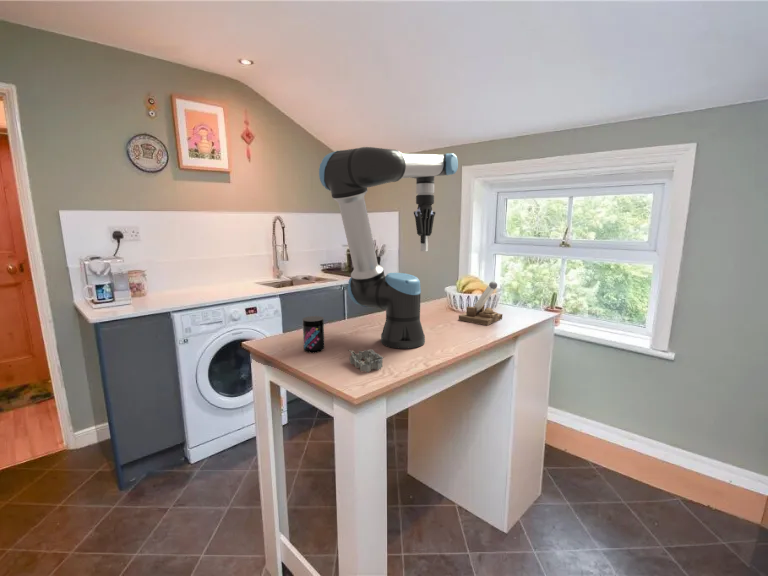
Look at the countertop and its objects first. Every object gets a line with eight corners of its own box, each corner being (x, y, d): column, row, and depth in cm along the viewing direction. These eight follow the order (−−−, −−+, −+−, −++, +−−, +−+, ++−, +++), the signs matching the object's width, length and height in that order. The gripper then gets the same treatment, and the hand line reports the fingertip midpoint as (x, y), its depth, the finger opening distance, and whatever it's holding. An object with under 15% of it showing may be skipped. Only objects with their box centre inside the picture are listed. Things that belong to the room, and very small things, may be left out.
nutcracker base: (487, 325, 150) (488, 312, 149) (458, 320, 158) (459, 307, 157) (502, 318, 160) (503, 306, 159) (474, 313, 169) (474, 301, 168)
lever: (474, 315, 158) (495, 285, 150) (468, 310, 160) (489, 280, 152) (479, 313, 162) (500, 284, 154) (474, 308, 163) (494, 279, 155)
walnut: (490, 317, 154) (491, 309, 153) (482, 316, 156) (482, 307, 156) (494, 316, 157) (494, 307, 156) (486, 314, 159) (486, 306, 158)
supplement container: (300, 349, 123) (298, 318, 121) (318, 345, 127) (317, 315, 125) (309, 354, 118) (308, 322, 116) (328, 350, 122) (327, 319, 120)
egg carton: (347, 362, 112) (346, 349, 112) (370, 357, 116) (369, 345, 115) (361, 374, 103) (361, 360, 102) (385, 369, 106) (385, 355, 106)
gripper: (426, 195, 164) (425, 249, 169) (408, 194, 155) (408, 251, 159) (441, 195, 160) (439, 250, 164) (423, 193, 150) (422, 252, 154)
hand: (424, 251), depth 161 cm, fingers closed
